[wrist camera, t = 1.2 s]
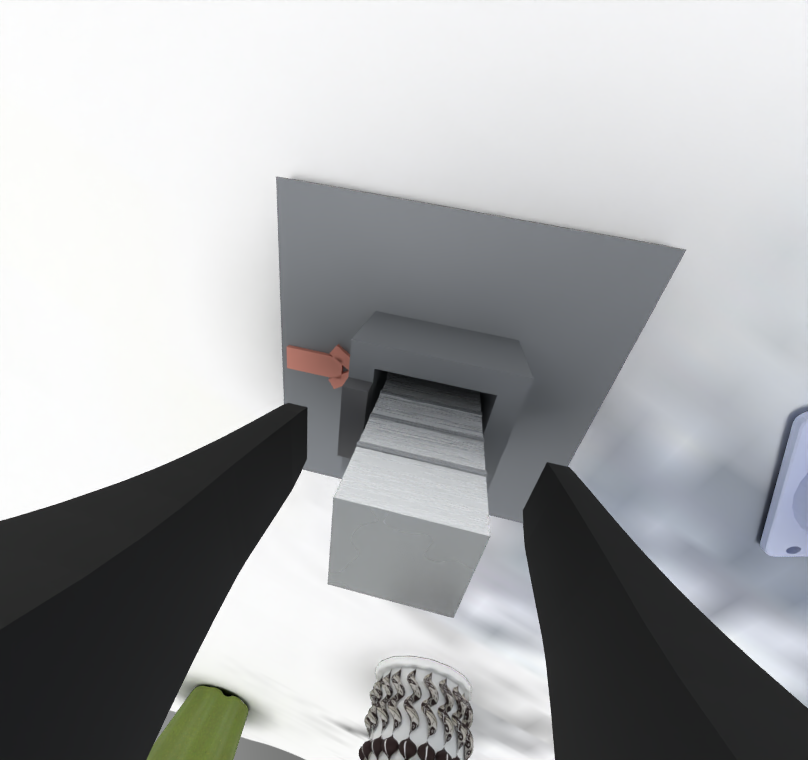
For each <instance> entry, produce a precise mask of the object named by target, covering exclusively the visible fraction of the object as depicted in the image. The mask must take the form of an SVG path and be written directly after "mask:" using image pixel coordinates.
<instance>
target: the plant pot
mask: <svg viewBox="0 0 808 760" xmlns="http://www.w3.org/2000/svg"><path fill="white" fill-rule="evenodd" d="M247 715H248V708H247V705H246V704H244V703H243V702H242V701H241V699H239V698H238V697H236V696H229V697H227V696H225V695H223V693H222V691H221V690H219V689H218V688H216V687H206V686H198V687H196V688H195V689H194V690H193V691H192V692H191V693H190V695H189V696H188V697H187V699H186V700H185V702H184V703H183V704H182V706H181V707H180V709H179V710H178V711H177V713H176V714H175V716H174V717H173V719H172V720H171V721H170V722H169V724H168V725H167V727H166V728H165V729H164V731H163V732H162V734H161V735H160V736H159V738H158V739H157V741H156V742H155V743H154V745H153V747H152V749H151V751H150V753H149V755H148V757H147V760H233V759H234V755H235V752H236V749H237V746H238V743H239V740H240V737H241V734H242V731H243V728H244V725H245V721H246V718H247Z"/></svg>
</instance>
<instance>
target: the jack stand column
mask: <svg viewBox="0 0 808 760" xmlns="http://www.w3.org/2000/svg"><path fill="white" fill-rule="evenodd" d="M486 477H487V471H485V457H484V438H483V430H482V412H481V403H480V392H479V391H475V390H470V389H466V388H461V387H456V386H452V385H447V384H443V383H438V382H433V381H429V380H424V379H420V378H415V377H410V376H406V375H401V374H397V373H392V372H390V374H389V376H388V378H387V380H386V383H385V385H384V387H383V389H382V390H381V392H380V396H379V398H378V400H377V402H376V405H375V407H374V409H373V411H372V412H371V413H370V416H369V420H368V422H367V425H366V427H365V429H364V431H363V433H362V436H361V438H360V440H359V441H358V442H357V444H356V449H355V451H354V453H353V455H352V458H351V460H350V462H349V464H348V466H347V469H346V471H345V473H344V475H343V478H342V480H341V482H340V484H339V486H338V489H337V491H336V493H335V495H334V498H333V513H332V528H331V543H330V558H329V572H328V584H329V585H333V586H336V587H340V588H344V589H348V590H351V591H355V592H359V593H362V594H366V595H370V596H374V597H377V598H381V599H385V600H389V601H392V602H396V603H400V604H403V605H407V606H411V607H415V608H418V609H422V610H426V611H429V612H433V613H437V614H441V615H444V616H448V617H452V618H454V615H455V613H456V611H457V609H458V607H459V604H460V602H461V600H462V598H463V595H464V593H465V591H466V589H467V587H468V584H469V582H470V580H471V578H472V576H473V573H474V571H475V569H476V567H477V565H478V562H479V560H480V558H481V556H482V554H483V551H484V549H485V547H486V545H487V543H488V540H489V538H490V525H489V511H488V498H487V484H486Z"/></svg>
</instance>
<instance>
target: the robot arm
mask: <svg viewBox="0 0 808 760" xmlns="http://www.w3.org/2000/svg"><path fill="white" fill-rule="evenodd" d="M307 416H308V407H305V406H300V405H296V404H292V403H286V404H284V405H282V406H280V407H278V408H276V409H275V410H273V411H271V412H269V413H267V414H265V415H264V416H262V417H260V418H258V419H256V420H254V421H253V422H251V423H249V424H247V425H245V426H243V427H241V428H239V429H237V430H236V431H234V432H232V433H230V434H228V435H226V436H224V437H222V438H220V439H218V440H216V441H214V442H212V443H210V444H208V445H206V446H204V447H202V448H199V449H197V450H195V451H193V452H191V453H189V454H187V455H185V456H183V457H181V458H178V459H176V460H174V461H172V462H169V463H167V464H165V465H162V466H160V467H158V468H155V469H153V470H150V471H148V472H145V473H143V474H140V475H138V476H135V477H133V478H130V479H128V480H125V481H122V482H120V483H117V484H114V485H111V486H108V487H105V488H102V489H100V490H97V491H94V492H91V493H88V494H85V495H82V496H79V497H76V498H73V499H70V500H68V501H65V502H62V503H59V504H56V505H52V506H49V507H46V508H43V509H39V510H36V511H33V512H30V513H26V514H23V515H20V516H16V517H13V518H9V519H6V520H2V521H0V760H147V757H148V755H149V753H150V751H151V749H152V747H153V744H154V742H155V740H156V738H157V736H158V733H159V731H160V729H161V727H162V725H163V723H164V720H165V718H166V716H167V714H168V712H169V710H170V708H171V706H172V704H173V702H174V700H175V697H176V695H177V693H178V691H179V689H180V687H181V685H182V683H183V681H184V679H185V677H186V675H187V673H188V671H189V669H190V666H191V664H192V662H193V660H194V658H195V656H196V654H197V652H198V650H199V648H200V646H201V645H202V643H203V641H204V639H205V637H206V635H207V633H208V631H209V629H210V627H211V625H212V623H213V621H214V619H215V617H216V615H217V613H218V611H219V609H220V607H221V606H222V604H223V602H224V600H225V598H226V596H227V594H228V592H229V590H230V589H231V587H232V585H233V583H234V581H235V579H236V577H237V576H238V574H239V572H240V571H241V569H242V567H243V565H244V564H245V562H246V560H247V559H248V557H249V556H250V554H251V553H252V551H253V550H254V548H255V546H256V545H257V543H258V542H259V540H260V539H261V537H262V536H263V534H264V533H265V531H266V530H267V528H268V526H269V525H270V523H271V522H272V520H273V519H274V517H275V516H276V514H277V513H278V511H279V510H280V508H281V506H282V505H283V503H284V502H285V500H286V499H287V497H288V495H289V494H290V492H291V491H292V489H293V487H294V485H295V483H296V481H297V479H298V477H299V475H300V473H301V471H302V469H303V467H304V464H305V462H306V460H307ZM523 529H524V542H525V550H526V556H527V561H528V567H529V572H530V577H531V583H532V588H533V593H534V598H535V603H536V608H537V613H538V618H539V624H540V629H541V634H542V639H543V646H544V652H545V659H546V667H547V677H548V686H549V696H550V706H551V716H552V728H553V740H554V752H555V760H808V708H807V707H806V706H804V705H803V704H802V703H801V702H800V701H799V700H797V699H796V698H795V697H794V696H793V695H792V694H791V693H789V692H788V691H787V690H786V689H785V688H784V687H783V686H782V685H780V684H779V683H778V682H777V681H776V680H775V679H774V678H772V677H771V676H770V675H769V674H768V673H767V672H766V671H764V670H763V669H762V668H761V667H760V666H759V665H758V664H756V663H755V662H754V661H753V660H752V659H751V658H750V657H749V656H748V655H746V654H745V653H744V652H743V651H742V650H741V649H740V648H739V647H738V646H737V645H736V644H734V643H733V642H732V641H731V640H730V639H729V638H728V637H727V636H726V635H725V634H724V633H723V632H722V631H721V630H720V629H719V628H718V627H716V626H715V625H714V624H713V623H712V622H711V621H710V620H709V619H708V618H707V617H706V616H705V615H704V614H703V613H702V612H701V611H700V610H699V609H698V608H697V607H696V606H695V605H694V604H693V603H692V602H691V601H690V600H689V599H688V598H687V597H686V596H685V595H684V594H683V593H682V592H681V591H680V590H679V589H678V588H677V587H676V586H675V585H674V584H673V583H672V582H671V581H670V580H669V579H668V578H667V577H666V576H665V575H664V574H663V573H662V572H661V571H660V570H659V568H658V567H657V566H656V565H655V564H654V563H653V562H652V561H651V560H650V559H649V558H648V557H647V556H646V555H645V553H644V552H643V551H642V550H641V549H640V548H639V547H638V546H637V545H636V544H635V542H634V541H633V540H632V539H631V538H630V537H629V536H628V535H627V533H626V532H625V531H624V530H623V529H622V528H621V527H620V525H619V524H618V523H617V522H616V521H615V520H614V518H613V517H612V516H611V515H610V514H609V513H608V511H607V510H606V509H605V508H604V507H603V506H602V504H601V503H600V502H599V501H598V500H597V498H596V497H595V496H594V495H593V494H592V493H591V491H590V490H589V489H588V488H587V487H586V485H585V484H584V483H583V482H582V481H581V480H580V478H579V477H578V476H577V475H576V474H575V473H574V472H573V471H572V470H571V469H570V467H567V466H562V465H558V464H554V463H549V462H547V463H546V465H545V467H544V469H543V471H542V473H541V475H540V477H539V479H538V481H537V483H536V485H535V487H534V489H533V491H532V493H531V495H530V497H529V499H528V501H527V503H526V505H525V507H524V509H523ZM760 547H761V548H762V549H763V550H764V552H765V553H766V554H767V555H770V556H774V557H797V556H808V411H807V412H804V413H802V414H800V415H799V416H798V417H796V418H795V420H794V422H793V424H792V428H791V432H790V435H789V439H788V443H787V446H786V450H785V454H784V457H783V461H782V465H781V468H780V472H779V476H778V479H777V483H776V487H775V490H774V494H773V498H772V501H771V505H770V509H769V512H768V516H767V520H766V523H765V527H764V531H763V534H762V538H761V542H760Z"/></svg>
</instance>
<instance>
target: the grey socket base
mask: <svg viewBox="0 0 808 760" xmlns="http://www.w3.org/2000/svg"><path fill="white" fill-rule="evenodd" d="M276 183H277V212H278V241H279V270H280V299H281V328H282V356H283V385H284V404H286V403H292V404H296V405H300V406H305V407H308V416H307V460H306V462H305V464H304V467H303V470H307V471H311V472H315V473H319V474H323V475H328V476H332V477H336V478H340V479H342V478H343V475H344V473H345V471H346V469H347V466H348V464H349V462H350V460H351V458H352V455H353V453H354V451H355V449H356V444H357V442H358V441H359V440H360V438H361V436H362V433H363V431H364V429H365V427H366V425H367V422H368V420H369V416H370V413H371V412H372V411H373V409H374V407H375V405H376V402H377V400H378V398H379V396H380V392H381V390H382V389H383V387H384V385H385V383H386V380H387V378H388V376H389V374H390V372H392V373H397V374H401V375H406V376H410V377H415V378H420V379H424V380H429V381H433V382H438V383H443V384H447V385H452V386H456V387H461V388H466V389H470V390H475V391H479V392H480V403H481V412H482V430H483V438H484V457H485V471H487V477H486V484H487V498H488V511H489V515H491V516H496V517H500V518H504V519H508V520H512V521H516V522H520V523H523V509H524V507H525V505H526V503H527V501H528V499H529V497H530V495H531V493H532V491H533V489H534V487H535V485H536V483H537V481H538V479H539V477H540V475H541V473H542V471H543V469H544V467H545V465H546V463H547V462H549V463H554V464H558V465H562V466H567V467H568V465H569V463H570V461H571V459H572V458H573V456H574V454H575V452H576V450H577V448H578V447H579V445H580V443H581V441H582V439H583V437H584V436H585V434H586V432H587V430H588V428H589V427H590V425H591V423H592V421H593V419H594V417H595V416H596V414H597V412H598V410H599V408H600V406H601V405H602V403H603V401H604V399H605V397H606V395H607V394H608V392H609V390H610V388H611V386H612V385H613V383H614V381H615V379H616V377H617V375H618V374H619V372H620V370H621V368H622V366H623V364H624V363H625V361H626V359H627V357H628V355H629V353H630V352H631V350H632V348H633V346H634V344H635V343H636V341H637V339H638V337H639V335H640V333H641V332H642V330H643V328H644V326H645V324H646V322H647V321H648V319H649V317H650V315H651V313H652V311H653V310H654V308H655V306H656V304H657V302H658V301H659V299H660V297H661V295H662V293H663V291H664V290H665V288H666V286H667V284H668V282H669V280H670V279H671V277H672V275H673V273H674V271H675V269H676V268H677V266H678V264H679V262H680V260H681V259H682V257H683V255H684V253H685V251H686V250H684V249H680V248H675V247H670V246H664V245H659V244H653V243H648V242H642V241H636V240H631V239H625V238H620V237H614V236H608V235H603V234H597V233H591V232H586V231H580V230H575V229H569V228H563V227H558V226H552V225H547V224H541V223H535V222H530V221H524V220H519V219H513V218H507V217H502V216H496V215H491V214H485V213H479V212H474V211H468V210H463V209H457V208H451V207H446V206H440V205H434V204H429V203H423V202H418V201H412V200H406V199H401V198H395V197H390V196H384V195H378V194H373V193H367V192H362V191H356V190H350V189H345V188H339V187H334V186H328V185H322V184H317V183H311V182H306V181H300V180H294V179H288V178H282V177H276Z"/></svg>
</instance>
